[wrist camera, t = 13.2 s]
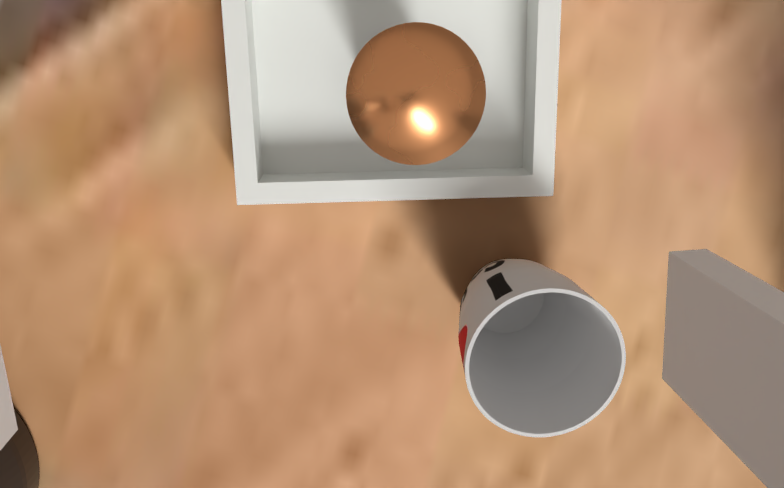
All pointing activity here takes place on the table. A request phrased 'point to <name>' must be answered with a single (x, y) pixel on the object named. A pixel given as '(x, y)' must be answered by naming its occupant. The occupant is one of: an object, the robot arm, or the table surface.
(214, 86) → the table surface
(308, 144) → the tray
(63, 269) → the table surface
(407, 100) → the pin
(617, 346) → the cup
